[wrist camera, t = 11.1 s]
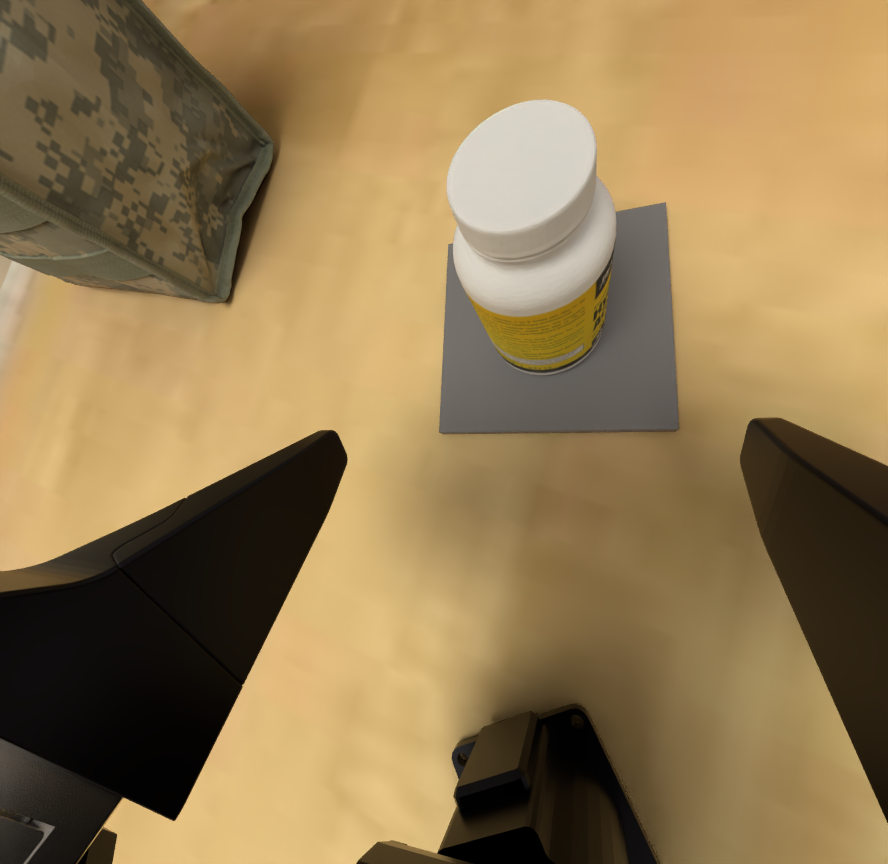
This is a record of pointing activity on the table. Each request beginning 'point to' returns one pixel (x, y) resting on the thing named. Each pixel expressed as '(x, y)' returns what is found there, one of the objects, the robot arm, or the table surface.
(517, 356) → the supplement bottle
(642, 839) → the robot arm
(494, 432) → the mat
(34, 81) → the bag
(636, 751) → the table surface
